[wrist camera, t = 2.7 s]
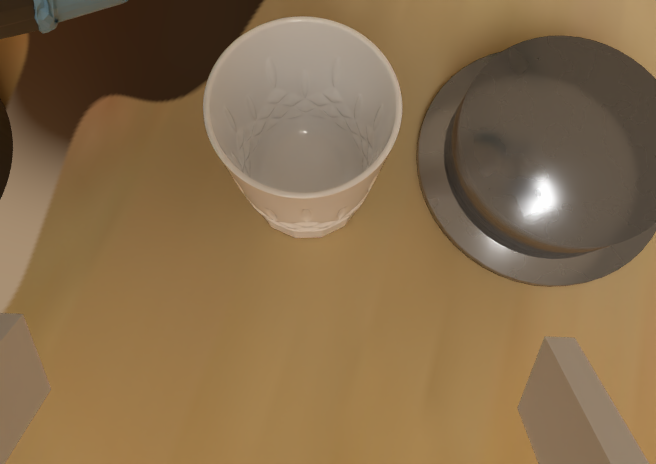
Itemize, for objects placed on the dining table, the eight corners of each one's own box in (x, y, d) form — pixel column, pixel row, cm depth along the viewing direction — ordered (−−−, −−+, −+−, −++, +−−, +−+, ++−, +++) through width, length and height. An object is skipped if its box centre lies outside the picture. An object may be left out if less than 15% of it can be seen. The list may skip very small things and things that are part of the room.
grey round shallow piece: (366, 178, 29) (374, 153, 25) (507, 12, 32) (533, -35, 28) (576, 341, 27) (620, 340, 23) (706, 148, 30) (764, 119, 26)
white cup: (214, 176, 29) (162, 89, 19) (316, 99, 30) (315, -18, 20) (298, 276, 28) (288, 239, 18) (400, 192, 29) (443, 114, 19)
